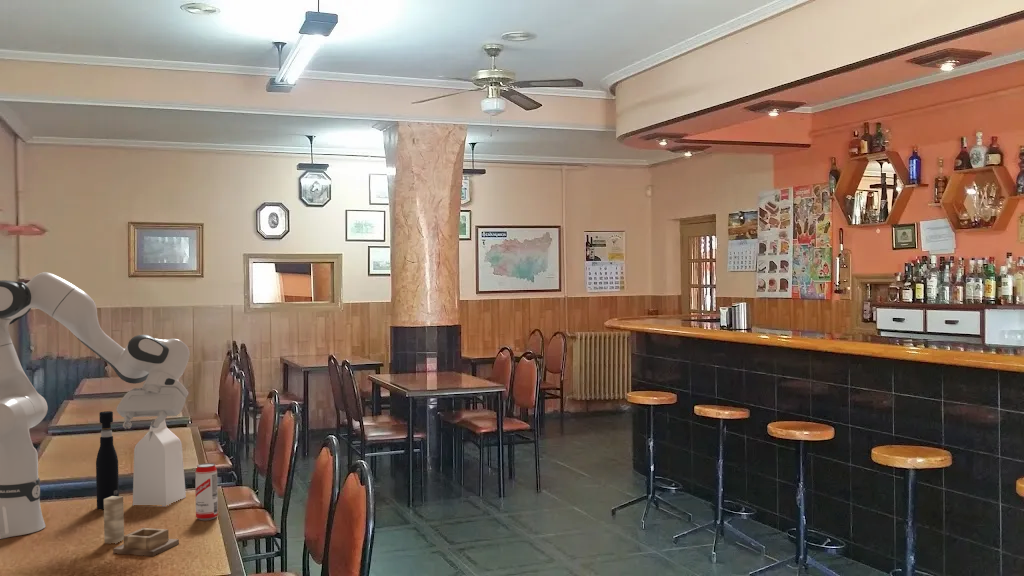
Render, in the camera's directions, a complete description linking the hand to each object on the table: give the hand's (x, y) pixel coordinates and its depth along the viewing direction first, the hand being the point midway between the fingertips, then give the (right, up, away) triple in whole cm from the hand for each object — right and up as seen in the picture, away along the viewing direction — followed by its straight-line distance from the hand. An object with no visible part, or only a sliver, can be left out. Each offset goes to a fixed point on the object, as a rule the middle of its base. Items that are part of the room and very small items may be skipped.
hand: (139, 427), depth 259 cm
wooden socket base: (+9, -30, -18) cm, 36 cm away
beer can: (+15, -29, +12) cm, 35 cm away
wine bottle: (-21, -29, +26) cm, 45 cm away
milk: (-7, -29, +33) cm, 45 cm away
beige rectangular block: (-2, -30, -11) cm, 32 cm away
